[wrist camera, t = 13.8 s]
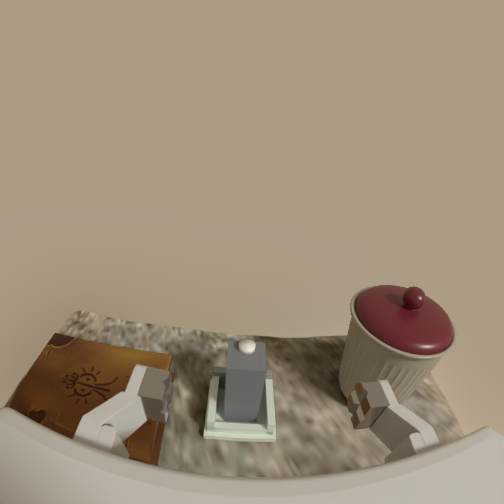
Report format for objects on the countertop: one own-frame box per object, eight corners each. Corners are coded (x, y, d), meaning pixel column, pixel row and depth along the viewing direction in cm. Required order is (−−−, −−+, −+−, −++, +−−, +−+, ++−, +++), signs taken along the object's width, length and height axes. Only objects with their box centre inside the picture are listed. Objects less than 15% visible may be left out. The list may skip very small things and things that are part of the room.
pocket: (203, 438, 31) (202, 421, 29) (210, 382, 41) (210, 363, 39) (275, 441, 32) (281, 425, 30) (270, 386, 42) (275, 367, 40)
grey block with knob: (224, 420, 34) (226, 363, 29) (225, 394, 38) (228, 335, 33) (256, 422, 34) (267, 366, 29) (255, 396, 39) (265, 337, 33)
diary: (25, 428, 23) (7, 407, 21) (64, 355, 40) (54, 332, 38) (157, 473, 25) (148, 458, 23) (175, 376, 42) (171, 353, 40)
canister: (312, 359, 48) (340, 258, 40) (389, 351, 51) (425, 262, 42) (339, 438, 32) (400, 335, 24) (427, 414, 34) (490, 319, 26)
